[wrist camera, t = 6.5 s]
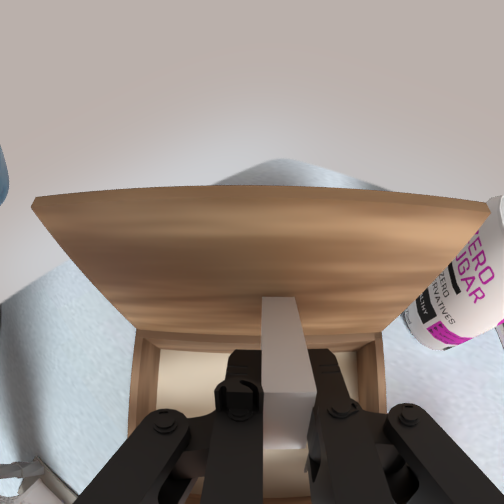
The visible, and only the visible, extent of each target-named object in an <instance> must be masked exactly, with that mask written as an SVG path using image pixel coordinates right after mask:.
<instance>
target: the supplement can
mask: <svg viewBox="0 0 504 504" xmlns="http://www.w3.org/2000/svg"><path fill="white" fill-rule="evenodd" d="M486 203H487V205H488V207H489V209H490V211H491V214H490V215H489V216H488V218H487V219H486V220H485V222H484V223H483V224H482V226H481V227H480V228H479V229H478V231H477V232H476V233H475V234H474V236H473V237H472V238H471V239H470V241H469V242H468V243H467V244H466V245H465V247H464V248H463V249H462V250H461V251H460V252H459V254H458V255H457V256H456V257H455V258H454V259H453V260H452V262H451V263H450V264H449V265H448V266H447V267H446V268H445V269H444V270H443V272H442V273H441V274H440V275H439V276H438V277H437V278H436V279H435V280H434V281H433V282H432V283H431V284H430V285H429V286H428V287H427V288H426V289H425V291H424V292H423V293H422V294H421V295H420V296H419V297H418V298H417V299H416V300H415V301H414V302H413V303H411V304H410V305H409V306H408V307H407V308H406V309H405V317H406V322H407V324H408V326H409V328H410V330H411V333H412V334H413V335H414V336H415V338H416V339H417V340H418V341H419V342H420V343H421V344H422V345H424V346H426V347H428V348H430V349H432V350H440V351H445V350H447V349H450V348H452V347H454V346H457V345H459V344H461V343H463V342H466V341H468V340H470V339H472V338H474V337H476V336H479V335H481V334H483V333H485V332H487V331H489V330H491V329H493V328H495V327H497V326H499V325H500V324H502V323H504V195H501V196H497V197H493V198H491V199H489V200H488V201H487V202H486Z"/></svg>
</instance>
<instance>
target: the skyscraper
mask: <svg viewBox="0 0 504 504" xmlns="http://www.w3.org/2000/svg"><path fill="white" fill-rule="evenodd" d="M12 477H17V478H24V480H23V482H22V484H21V486H20V488H19V490H18V492H17V493H18V494H19V495H18V496H14V497H5V496H1V495H0V504H72V503H73V502H74V501H75V500H76V499H77V498H78V496H77V495H76V494H75V493H74V492H73V491H72V490H71V489H69V488H68V487H67V486H66V485H65V484H64V483H63V482H62V481H61V480H60V479H59V478H58V477H57V476H56V475H55V474H54V473H53V472H52V471H51V470H50V469H49V468H48V467H47V466H46V465H45V464H44V463H43V462H42V461H41V459H40V458H39V457H38V456H35V457H34V459H33V461H31V462H13V463H11V464H0V479H3V478H12Z"/></svg>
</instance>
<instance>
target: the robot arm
mask: <svg viewBox="0 0 504 504" xmlns="http://www.w3.org/2000/svg"><path fill="white" fill-rule="evenodd" d="M8 189H9V176H8V171H7V166H6V162H5V159H4V155H3V152H2V149H1V146H0V205H1V204H2V203H3V202H4V200H5V198H6V196H7V193H8ZM214 397H215V408H216V409H215V410H214V411H213V412H211V413H209V414H207V415H204V416H200V417H193V418H187V417H186V416H185V415H184V414H183V413H181V412H179V411H177V410H174V409H168V408H166V409H158V410H155V411H153V412H150V413H149V414H148V415H147V416H146V417H145V418H144V419H143V420H142V421H141V422H140V424H139V425H138V426H137V427H136V429H135V430H134V431H133V432H132V433H131V435H130V436H129V437H128V438H127V439H126V441H125V442H124V443H123V444H122V446H121V447H120V448H119V449H118V450H117V452H116V453H115V454H114V455H113V456H112V458H111V459H110V460H109V461H108V462H107V463H106V465H105V466H104V467H103V468H102V469H101V471H100V472H99V473H98V474H97V475H96V477H95V478H94V479H93V480H92V481H91V482H90V484H89V485H88V486H87V487H86V488H85V489H84V491H83V492H82V493H81V494H80V495H79V496H78V498H77V499H76V500H75V501H74V502H73V503H72V504H184V503H185V501H186V499H187V498H188V496H189V494H190V492H191V490H192V489H193V487H194V485H195V483H196V481H197V479H198V477H204V482H203V488H202V494H201V500H200V504H263V449H305V448H306V444H307V443H308V450H309V452H308V456H307V460H306V464H305V468H304V473H307V471H308V477H309V485H310V495H311V504H504V495H503V494H502V493H501V492H500V490H499V489H498V488H497V487H496V486H495V485H494V484H493V483H492V482H491V481H490V479H489V478H488V477H487V476H486V475H485V474H484V473H483V472H482V471H481V470H480V469H479V468H478V466H477V465H476V464H475V463H474V462H473V461H472V460H471V459H470V458H469V457H468V456H467V455H466V453H465V452H464V451H463V450H462V449H461V448H460V447H459V446H458V445H457V444H456V443H455V442H454V441H453V440H452V439H451V437H450V436H449V435H448V434H447V433H446V432H445V431H444V430H443V429H442V428H441V427H440V426H439V425H438V424H437V423H436V422H435V420H434V419H433V418H432V417H431V416H430V415H429V414H428V413H427V412H426V411H425V410H424V409H422V408H421V407H420V406H417V405H415V404H410V403H403V404H398V405H396V406H394V407H393V408H391V410H390V411H389V413H388V414H383V413H374V412H369V411H365V410H363V409H362V407H361V406H360V404H359V403H358V402H356V401H355V400H354V399H352V398H350V395H349V392H348V389H347V387H346V384H345V381H344V378H343V375H342V373H341V370H340V367H339V366H338V361H337V359H336V356H335V355H334V354H333V353H332V352H331V351H330V350H329V349H328V348H325V349H307V346H306V342H305V338H304V333H303V329H302V325H301V321H300V317H299V313H298V309H297V305H296V301H295V297H262V320H261V350H243V349H235V350H234V351H233V352H232V354H231V355H230V356H229V357H228V363H227V369H226V375H225V380H223V381H222V382H220V383H219V384H218V385H217V386H216V388H215V390H214Z"/></svg>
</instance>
